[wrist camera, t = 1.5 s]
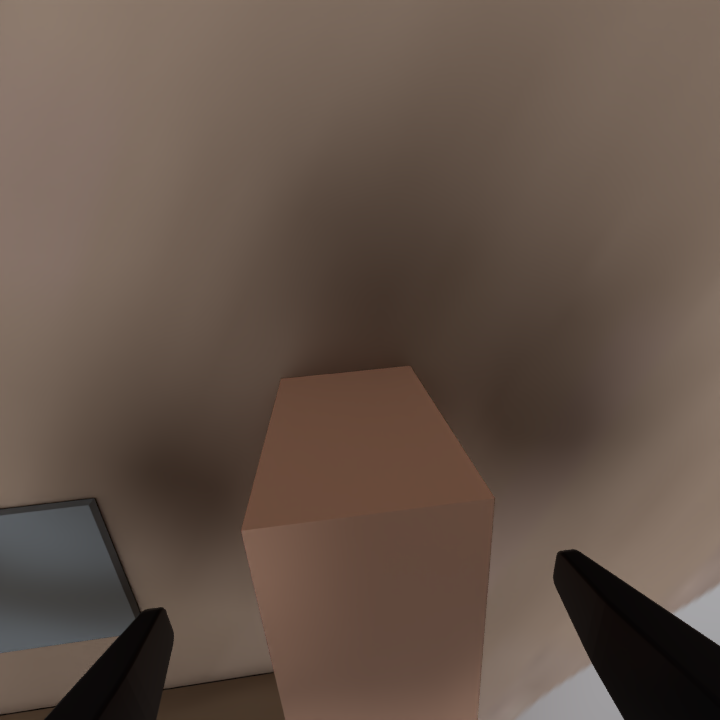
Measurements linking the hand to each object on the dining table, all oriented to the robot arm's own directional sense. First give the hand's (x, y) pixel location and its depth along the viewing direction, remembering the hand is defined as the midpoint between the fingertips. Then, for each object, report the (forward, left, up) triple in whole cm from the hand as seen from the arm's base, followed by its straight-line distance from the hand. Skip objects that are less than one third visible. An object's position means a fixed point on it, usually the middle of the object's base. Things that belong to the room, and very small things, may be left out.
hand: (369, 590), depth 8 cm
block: (0, 0, -4) cm, 5 cm away
